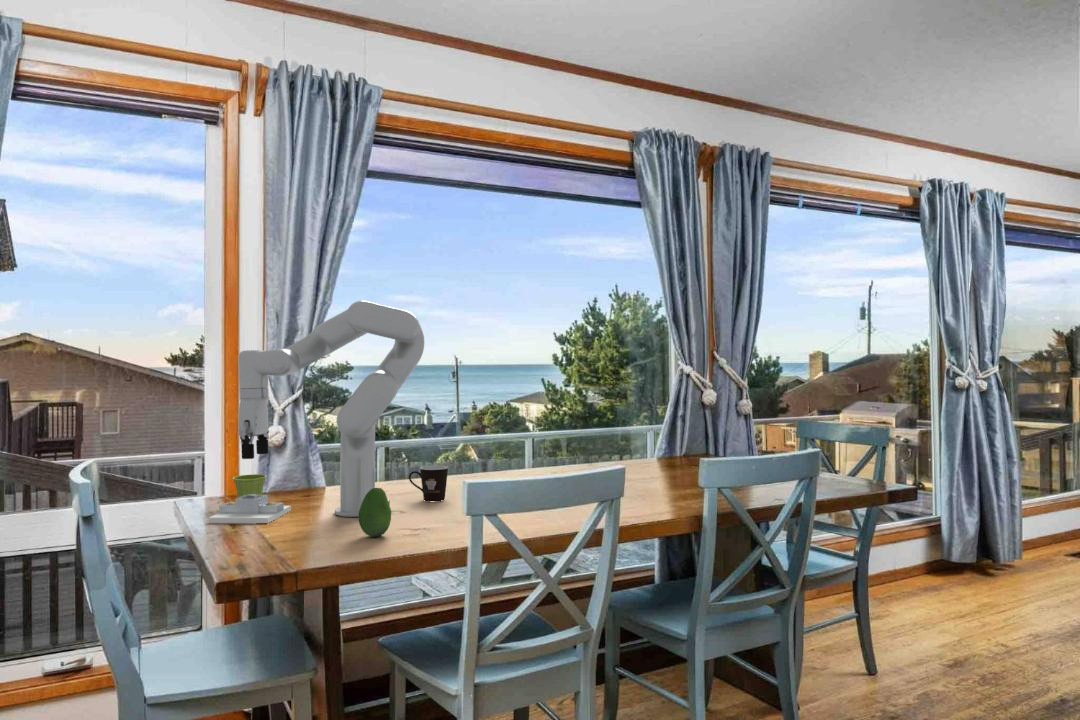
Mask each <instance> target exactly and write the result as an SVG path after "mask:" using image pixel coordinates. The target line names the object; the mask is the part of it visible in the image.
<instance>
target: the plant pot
mask: <svg viewBox="0 0 1080 720" xmlns="http://www.w3.org/2000/svg"><path fill="white" fill-rule="evenodd" d="M266 478H267V475H266V474H259V473H257V474H256V473H255V474H254V473H253V474H243V475H242V474H241V475H235V476H233V477H232V480H233V482H234V485H235V490H236V495H237V498H239V497H241V496H244V495H249V494H256V495H263V493H264V492H263V491H264V484H265V482H266Z"/></svg>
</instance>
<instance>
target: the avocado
mask: <svg viewBox="0 0 1080 720" xmlns="http://www.w3.org/2000/svg"><path fill="white" fill-rule="evenodd" d="M388 500H389V499H388V496H387V494H386V492H385V491H384V489H383V488H382V487H375V488H373V489H371V490H370V491H369V492H368V493H367V494H366V496H365V498H364V500H363V502H362V504H361V507H360V510H359V517H358V522H359V526H360V528H361V530H362V532H363V533H364V534H365V535H367V536H368V537H371V538H378V537H381V536H383V535H384V534H386V532H387V531H388V530H389V527H390V525H391V522H392V509H391V506H389V503H388Z"/></svg>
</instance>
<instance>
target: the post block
mask: <svg viewBox="0 0 1080 720" xmlns="http://www.w3.org/2000/svg"><path fill="white" fill-rule="evenodd" d="M246 498H251V499H256V498H257V495H256V494H249V495H246ZM228 502H229V501H228ZM234 502H235V501H230V502H229V505H234ZM268 503H269V505H273V503H274V502H273V501H271V502H269V501H268ZM291 509H292V506H291V505H284V510H282V511H280V512H279V513H259V514H235V513H219V512H218V513H216V514H214V515H211V516H209V517H208V524H256V523H268V524H270V523H272V522H273V520H274V521H275V520H277V519H279V518H281V517H282V515H283V516H284V515H286V514H288V513H290V512H291V511H292V510H291ZM289 511H290V512H289ZM287 512H288V513H287ZM285 513H286V514H285ZM280 516H281V517H280ZM271 521H272V522H271ZM269 522H270V523H269Z"/></svg>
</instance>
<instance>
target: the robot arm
mask: <svg viewBox="0 0 1080 720" xmlns="http://www.w3.org/2000/svg"><path fill="white" fill-rule="evenodd" d="M422 329H423V328H422V327H421V324H420V322H419V320H418V318H417V317H416V315H415V314H414V313H412V312H411V311H408V310H405V309H401V308H396V307H392V306H387V305H383V304H379V303H375V302H371V301H368V300H357V301H355V302H353V303H351V305H349V307H348V308H347V309H345V310H344V311H342V312H340V313H338V314H336V315H334V316H333V317H331V318H329V319H327V320H325V321H322V322H321V323H320V324H317V326H316V327H314V329H313V330H312V331H311V332H310V333H309V334H308V335H306V336H305V337H303V338H301V339H300V340H298V341H296V342H294V343H292V344H291V345H289V346H287V347H285V348H275V349H269V350H260V349H259V350H258V349H257V350H254V349H253V350H252V349H251V350H250V349H249V350H242V351H240V352H239V354H238V385H239V386H238V390H239V393H238V394H239V398H238V399H239V401H240V402H239V407H238V418H237V419H238V422H237V423H238V424H237V429H238V431H237V435H238V436H239V439H240V446H241V459H242V460H252V459H254V458H255V444H254V439H255V437H256V438H257V439H256V442H255V443H256V454H257V455H268V454H269V438H270V437H269V433H270V430H269V427H270V423H269V410H268V401H267V400H269V376H275V377H276V376H277V377H285V376H290V375H293V374H294V373H296V372H299V371H300V370H302V369H305V368H306V367H308V366H310V365H311V364H313V363H315V362H318V360H320V359H322V358H324V357H326V356H329V355H330V354H332V353H334V352H335V351H338V350H339V349H341V348H342V347H344V346H346V345H348V344H350V343H352V342H353V341H355V340H357V339H360V337H363V336H365V335H366V334H370V335H375V336H379V337H382V338H383V337H384V338H388V339H391V340H394V344H393V346H392V348H391V349H390V351H389V352H388V353H387V355H386V356H385V358H384V359H383V360H382V362H381V363H380V364H379V365H378V367H376V368H375V369H374V371H373V372H371V373H369V374H368V375H366V376H365V378H364V379H363V380H362V381H361V383H360V384H359V385H358V387H356V389H355V390H354V392H353V393H352V394H351V395H350V396H349V398H348V400H347V401H346V402H345V403H344V405H343V406H342V407H341V408H340V410H339V411H338V413H337V416H336V426H337V429H338V431H339V432H340V442H339V443H340V448H339V449H340V450H339V451H340V453H339V454H340V458H339V459H340V460H339V462H340V463H339V464H340V466H339V469H340V470H339V471H340V477H339V481H340V483H339V484H340V485H339V486H340V487H339V489H340V496H339V497H340V499H339V501H340V504H339V505H340V506H338V507H336V508H335V509H334V515H336V516H339V517H345V518H348V517H349V518H356V517H358V518H359V510H360V507H361V504H362V502H363V500H364V498H365V496H366V494H367V493H368V492H369V491H370V490H371V489H373V488H376V482H375V481H376V468H375V467H376V465H375V464H376V422H377V421H378V420H379V418H380V417H382V414H383V413H384V412H385V411H386V410H387V408H388V407H389V405H390V404H391V403H392V401H393V400H394V399H395V398H396V397H397V396H396V395H397V394H398V392H399V390H400V388H401V387H402V386H403V384H404V383H405V382H406V381H407V380H408V378H409V376H411V374H412V372H413V371H414V369H415V368H416V367H417V366H418V364H419V362H420V361H421V359H422V356H423V353H424V349H425V335H424V332H423V330H422ZM390 501H391V500H389V499H388V503H389V506H390V505H391V502H390ZM390 507H391V506H390Z"/></svg>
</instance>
